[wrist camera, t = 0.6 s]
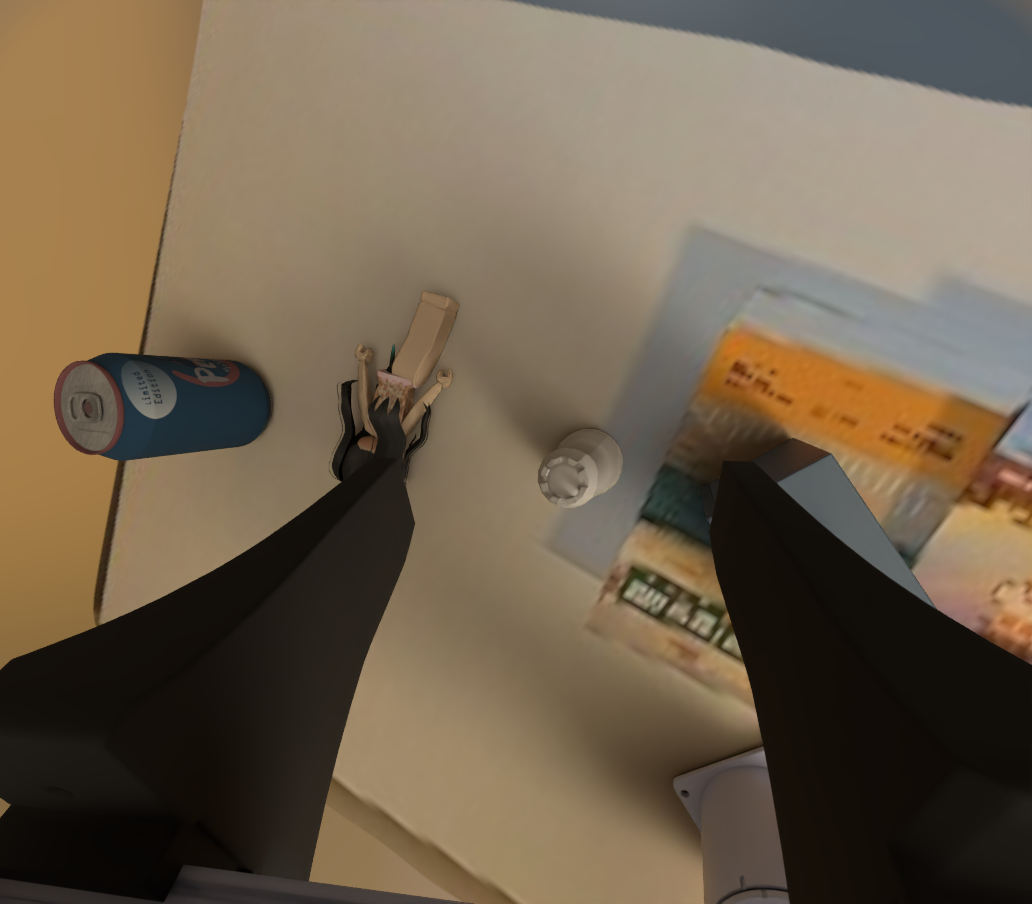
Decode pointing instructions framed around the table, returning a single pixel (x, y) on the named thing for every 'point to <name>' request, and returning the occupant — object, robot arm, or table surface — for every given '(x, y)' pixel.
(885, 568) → the basket
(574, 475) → the rook chess piece
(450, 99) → the table surface
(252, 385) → the soda can
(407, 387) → the toy figure
